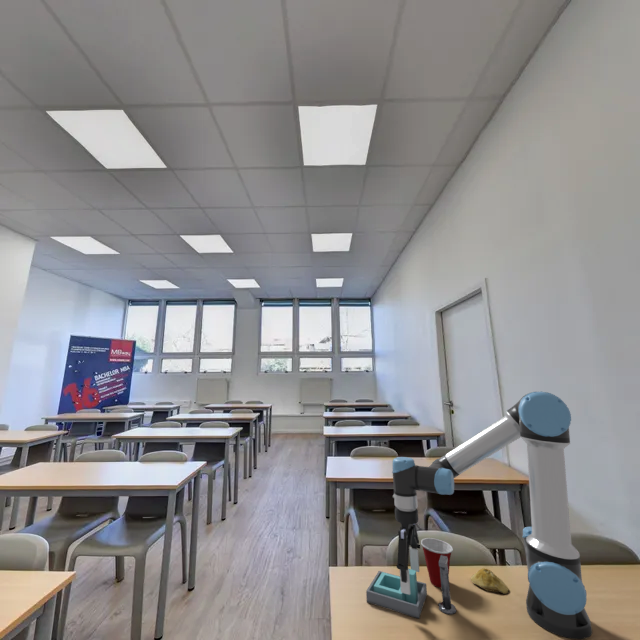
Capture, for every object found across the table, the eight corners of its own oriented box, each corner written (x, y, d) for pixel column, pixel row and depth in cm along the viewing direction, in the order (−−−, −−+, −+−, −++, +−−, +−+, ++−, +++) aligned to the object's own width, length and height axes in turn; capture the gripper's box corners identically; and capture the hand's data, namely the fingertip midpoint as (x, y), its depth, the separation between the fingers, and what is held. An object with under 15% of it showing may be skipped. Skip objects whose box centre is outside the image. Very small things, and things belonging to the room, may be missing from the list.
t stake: (456, 606, 95) (452, 557, 98) (455, 616, 91) (450, 565, 94) (439, 601, 98) (435, 553, 101) (437, 611, 93) (433, 561, 96)
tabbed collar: (419, 594, 101) (417, 566, 102) (414, 611, 93) (412, 580, 95) (382, 583, 106) (381, 557, 108) (374, 598, 99) (373, 569, 100)
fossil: (505, 563, 108) (497, 576, 101) (512, 584, 106) (505, 599, 99) (473, 561, 115) (464, 573, 107) (480, 581, 112) (471, 594, 105)
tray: (426, 594, 101) (426, 583, 102) (419, 618, 90) (418, 606, 91) (379, 580, 109) (378, 570, 109) (366, 602, 98) (366, 590, 98)
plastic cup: (461, 593, 102) (457, 551, 105) (428, 592, 102) (425, 550, 105) (449, 574, 112) (446, 537, 115) (419, 573, 113) (417, 536, 116)
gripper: (403, 495, 116) (407, 560, 111) (384, 518, 95) (388, 600, 90) (424, 498, 113) (429, 565, 108) (408, 523, 91) (414, 608, 86)
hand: (410, 581), depth 99 cm, fingers open, 13 cm apart
